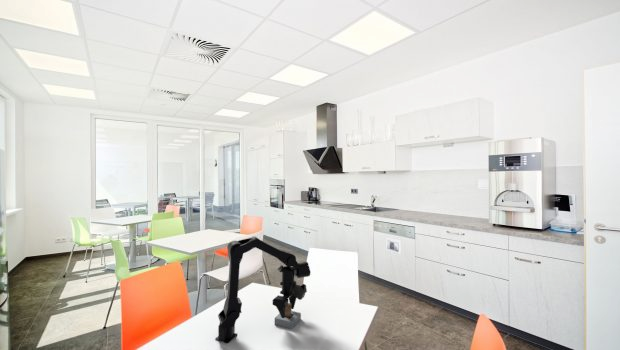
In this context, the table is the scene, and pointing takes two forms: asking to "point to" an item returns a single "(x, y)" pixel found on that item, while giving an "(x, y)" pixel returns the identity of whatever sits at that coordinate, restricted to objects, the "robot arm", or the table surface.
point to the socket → (288, 320)
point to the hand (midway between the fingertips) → (287, 313)
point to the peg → (288, 311)
